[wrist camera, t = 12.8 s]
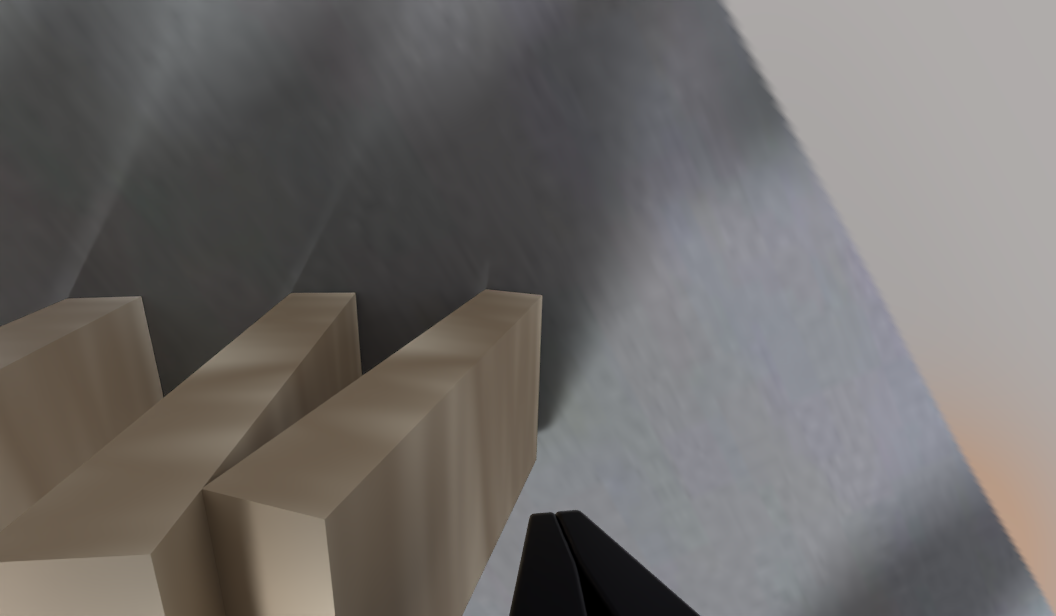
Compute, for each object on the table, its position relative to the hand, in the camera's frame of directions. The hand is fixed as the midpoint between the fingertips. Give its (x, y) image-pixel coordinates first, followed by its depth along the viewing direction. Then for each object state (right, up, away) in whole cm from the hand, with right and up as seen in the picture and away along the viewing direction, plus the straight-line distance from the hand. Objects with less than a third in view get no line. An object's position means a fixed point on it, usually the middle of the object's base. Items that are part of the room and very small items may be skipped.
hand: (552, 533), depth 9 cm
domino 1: (-1, +2, +6) cm, 6 cm away
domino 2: (-6, +2, +5) cm, 8 cm away
